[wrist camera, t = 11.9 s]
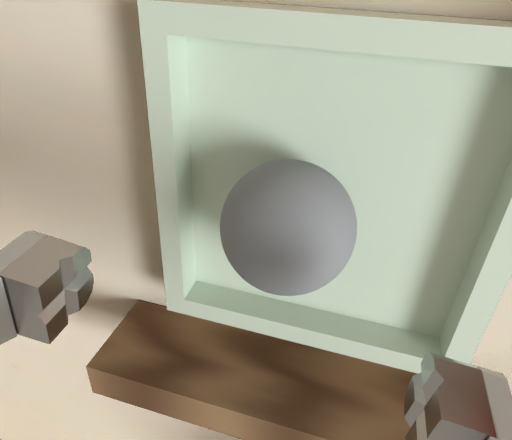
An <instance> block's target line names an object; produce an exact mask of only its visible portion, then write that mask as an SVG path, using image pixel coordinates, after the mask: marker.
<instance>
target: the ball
mask: <svg viewBox="0 0 512 440" xmlns="http://www.w3.org/2000/svg"><path fill="white" fill-rule="evenodd" d="M220 236H221V243H222V247H223V250H224V252H225V255H226V257H227V259H228V261H229V262H230V264H231V266H232V267H233V268H234V270H235V271H236V272H237V273H238V274H239V275H240V277H241V278H243V279H244V280H245V281H246V282H247V283H249V284H250V285H252V286H254V287H255V288H257V289H259V290H261V291H264V292H267V293H270V294H274V295H279V296H297V295H303V294H307V293H310V292H313V291H316V290H318V289H320V288H322V287H323V286H325V285H327V284H328V283H329V282H331V281H332V280H333V279H334V278H336V277H337V276H338V274H339V273H340V272H341V271H342V270H343V269H344V267H345V266H346V264H347V262H348V261H349V259H350V257H351V255H352V252H353V250H354V246H355V243H356V238H357V218H356V213H355V209H354V206H353V203H352V200H351V198H350V196H349V194H348V193H347V191H346V189H345V188H344V187H343V185H342V184H341V183H340V182H339V181H338V180H337V179H336V178H335V177H334V176H333V175H332V174H331V173H329V172H328V171H326V170H325V169H323V168H321V167H319V166H317V165H315V164H313V163H310V162H306V161H302V160H295V159H282V160H275V161H271V162H267V163H264V164H262V165H260V166H258V167H255V168H254V169H252V170H251V171H249V172H248V173H246V174H245V175H244V176H243V177H242V178H241V179H240V180H239V181H238V182H237V183H236V184H235V185H234V187H233V188H232V189H231V191H230V193H229V194H228V196H227V198H226V200H225V203H224V205H223V209H222V213H221V218H220Z"/></svg>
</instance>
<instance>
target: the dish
mask: <svg viewBox="0 0 512 440" xmlns="http://www.w3.org/2000/svg"><path fill="white" fill-rule="evenodd" d="M137 5H138V15H139V26H140V36H141V46H142V57H143V67H144V77H145V88H146V98H147V109H148V119H149V129H150V140H151V150H152V160H153V171H154V181H155V192H156V202H157V212H158V223H159V233H160V243H161V254H162V264H163V275H164V285H165V295H166V306H167V310H170V311H174V312H178V313H182V314H186V315H190V316H194V317H197V318H201V319H205V320H209V321H213V322H217V323H221V324H225V325H229V326H233V327H237V328H241V329H245V330H248V331H252V332H256V333H260V334H264V335H268V336H272V337H276V338H280V339H284V340H288V341H292V342H296V343H300V344H303V345H307V346H311V347H315V348H319V349H323V350H327V351H331V352H335V353H339V354H343V355H347V356H351V357H355V358H358V359H362V360H366V361H370V362H374V363H378V364H382V365H386V366H390V367H394V368H398V369H402V370H406V371H409V372H413V373H417V374H418V373H421V362H422V360H423V358H424V357H425V355H427V354H428V353H429V352H430V353H434V354H437V355H441V356H444V357H447V358H451V359H454V360H458V361H461V362H464V363H468V364H470V362H471V360H472V358H473V356H474V353H475V351H476V349H477V347H478V345H479V343H480V341H481V339H482V337H483V334H484V332H485V330H486V328H487V326H488V324H489V322H490V320H491V318H492V316H493V313H494V311H495V309H496V307H497V305H498V303H499V301H500V299H501V297H502V294H503V292H504V290H505V288H506V286H507V284H508V282H509V280H510V278H511V276H512V21H502V20H488V19H475V18H461V17H447V16H433V15H420V14H406V13H392V12H378V11H365V10H351V9H337V8H323V7H310V6H296V5H282V4H268V3H255V2H241V1H227V0H137ZM282 159H295V160H302V161H306V162H310V163H313V164H315V165H317V166H319V167H321V168H323V169H325V170H326V171H328V172H329V173H331V174H332V175H333V176H334V177H335V178H336V179H337V180H338V181H339V182H340V183H341V184H342V185H343V187H344V188H345V189H346V191H347V193H348V194H349V196H350V198H351V200H352V203H353V206H354V209H355V213H356V218H357V238H356V243H355V246H354V250H353V252H352V255H351V257H350V259H349V261H348V262H347V264H346V266H345V267H344V269H343V270H342V271H341V272H340V273H339V274H338V276H337V277H336V278H334V279H333V280H332V281H331V282H329V283H328V284H327V285H325V286H323V287H322V288H320V289H318V290H316V291H313V292H310V293H307V294H303V295H297V296H279V295H274V294H270V293H267V292H264V291H261V290H259V289H257V288H255V287H254V286H252V285H250V284H249V283H247V282H246V281H245V280H244V279H243V278H241V277H240V275H239V274H238V273H237V272H236V271H235V270H234V268H233V267H232V266H231V264H230V262H229V261H228V259H227V257H226V255H225V252H224V250H223V247H222V243H221V236H220V218H221V213H222V209H223V205H224V203H225V200H226V198H227V196H228V194H229V193H230V191H231V189H232V188H233V187H234V185H235V184H236V183H237V182H238V181H239V180H240V179H241V178H242V177H243V176H244V175H245V174H246V173H248V172H249V171H251V170H252V169H254V168H255V167H258V166H260V165H262V164H264V163H267V162H271V161H275V160H282Z"/></svg>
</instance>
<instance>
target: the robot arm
mask: <svg viewBox="0 0 512 440" xmlns="http://www.w3.org/2000/svg"><path fill="white" fill-rule="evenodd" d="M91 261H92V260H91V253H90V250H88V249H87V248H85V247H82V246H79V245H76V244H73V243H70V242H67V241H64V240H61V239H58V238H55V237H52V236H48V235H45V234H42V233H39V232H36V231H33V230H32V231H27V232H25V233H23V234H22V235H21V236H19V237H18V238H16V239H15V240H14V241H12V242H11V243H10V244H8V245H7V246H6V247H4V248H3V249H2V250H0V344H2V343H4V342H6V341H8V340H10V339H12V338H14V337H16V336H17V334H19V335H22V336H25V337H28V338H31V339H35V340H38V341H41V342H44V343H47V344H50V343H51V342H52V341H53V340H54V339H55V338H56V337H57V336H58V334H59V333H60V332H61V331H62V330H63V329H64V328H65V327H66V325H67V324H68V315H70V314H72V313H75V312H77V311H80V309H81V308H82V307H83V306H84V305H85V304H86V302H87V301H88V299H89V296H90V294H91V292H92V289H93V283H94V281H93V274H92V273H91V271H90V270H89V269H88V267H87V265H88V264H89V263H90V262H91ZM404 418H405V419H406V421H407V422H408V424H409V426H410V427H411V428H410V430H409V431H408V433H407V434H406V436H405V440H512V395H511V391H510V388H509V385H508V381H507V378H506V377H505V376H504V375H503V374H502V373H498V372H495V371H492V370H488V369H485V368H481V367H476V366H474V365H471V364H468V363H464V362H461V361H458V360H454V359H451V358H447V357H444V356H441V355H437V354H434V353H430V352H429V353H428V354H427V355H425V357H424V358H423V360H422V362H421V373H418V374H416V375H413V377H412V379H411V381H410V383H409V384H408V387H407V391H406V395H405V402H404ZM0 440H1V439H0Z"/></svg>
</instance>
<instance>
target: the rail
mask: <svg viewBox="0 0 512 440" xmlns="http://www.w3.org/2000/svg"><path fill="white" fill-rule="evenodd" d="M86 368H87V372H88V376H89V380H90V383H91V387H92V391H93V392H94V393H97V394H100V395H103V396H106V397H110V398H113V399H116V400H119V401H122V402H125V403H129V404H132V405H135V406H138V407H141V408H144V409H148V410H151V411H154V412H157V413H160V414H163V415H167V416H170V417H173V418H176V419H179V420H182V421H186V422H189V423H192V424H195V425H198V426H201V427H205V428H208V429H211V430H214V431H217V432H220V433H223V434H227V435H230V436H233V437H236V438H239V439H242V440H405V436H406V434H407V433H408V431H409V430H410V428H411V427H410V426H409V424H408V422H407V421H406V419H405V418H404V402H405V395H406V391H407V387H408V384H409V383H410V381H411V379H412V377H413V375H416V374H417V373H413V372H409V371H406V370H402V369H398V368H394V367H390V366H386V365H382V364H378V363H374V362H370V361H366V360H362V359H358V358H355V357H351V356H347V355H343V354H339V353H335V352H331V351H327V350H323V349H319V348H315V347H311V346H307V345H303V344H300V343H296V342H292V341H288V340H284V339H280V338H276V337H272V336H268V335H264V334H260V333H256V332H252V331H248V330H245V329H241V328H237V327H233V326H229V325H225V324H221V323H217V322H213V321H209V320H205V319H201V318H197V317H194V316H190V315H186V314H182V313H178V312H174V311H170V310H167V307H165V306H161V305H157V304H153V303H149V302H145V301H141V300H138V301H137V303H136V304H135V305H134V306H133V308H132V309H131V310H130V311H129V313H128V314H127V315H126V317H125V318H124V319H123V320H122V322H121V323H120V324H119V325H118V327H117V328H116V329H115V330H114V332H113V333H112V334H111V336H110V337H109V338H108V339H107V341H106V342H105V343H104V344H103V346H102V347H101V348H100V350H99V351H98V352H97V353H96V355H95V356H94V357H93V358H92V360H91V361H90V362H89V364H88V365H87V366H86Z"/></svg>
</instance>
